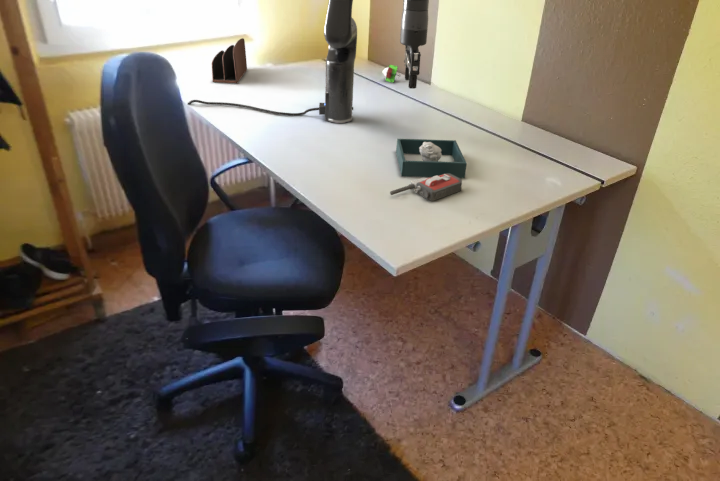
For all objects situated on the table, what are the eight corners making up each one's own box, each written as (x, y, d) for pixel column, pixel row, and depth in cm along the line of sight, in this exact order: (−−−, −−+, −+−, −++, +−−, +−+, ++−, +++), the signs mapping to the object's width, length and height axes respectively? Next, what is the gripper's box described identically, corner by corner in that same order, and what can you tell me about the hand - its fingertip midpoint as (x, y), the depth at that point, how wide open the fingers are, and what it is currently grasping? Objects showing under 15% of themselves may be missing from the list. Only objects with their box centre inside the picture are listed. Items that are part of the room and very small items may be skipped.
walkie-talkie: (442, 178, 151) (387, 196, 140) (444, 163, 149) (388, 180, 138) (465, 190, 146) (410, 210, 135) (468, 175, 143) (412, 194, 132)
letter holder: (247, 70, 232) (245, 35, 225) (237, 83, 215) (235, 46, 208) (223, 69, 232) (220, 34, 225) (212, 82, 215) (208, 45, 208)
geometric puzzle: (391, 72, 232) (386, 58, 226) (405, 75, 229) (400, 61, 222) (383, 85, 231) (377, 72, 224) (396, 88, 227) (391, 75, 221)
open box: (401, 176, 151) (402, 161, 148) (395, 152, 165) (397, 138, 162) (464, 178, 152) (466, 163, 149) (453, 154, 166) (455, 140, 163)
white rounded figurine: (413, 162, 159) (415, 139, 156) (434, 159, 162) (436, 136, 158) (423, 170, 155) (425, 147, 151) (444, 167, 157) (447, 144, 154)
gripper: (398, 21, 160) (395, 77, 168) (404, 31, 148) (400, 91, 156) (423, 21, 160) (419, 77, 169) (431, 31, 148) (426, 91, 157)
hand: (410, 83), depth 162 cm, fingers open, 8 cm apart
